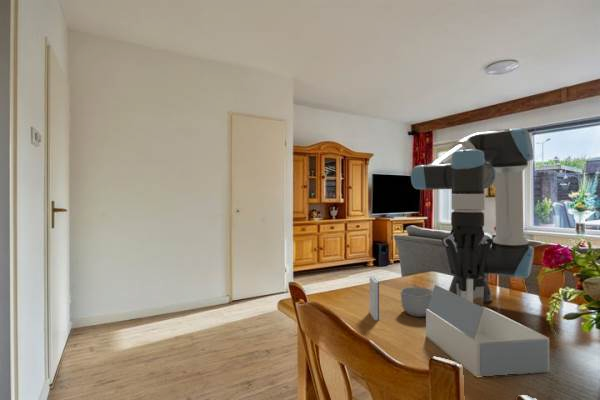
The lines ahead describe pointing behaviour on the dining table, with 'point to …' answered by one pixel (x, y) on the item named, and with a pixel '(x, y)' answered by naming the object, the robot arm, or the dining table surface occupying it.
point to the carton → (491, 345)
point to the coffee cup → (477, 293)
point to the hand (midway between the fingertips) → (466, 303)
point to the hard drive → (374, 298)
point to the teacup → (416, 300)
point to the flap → (456, 310)
